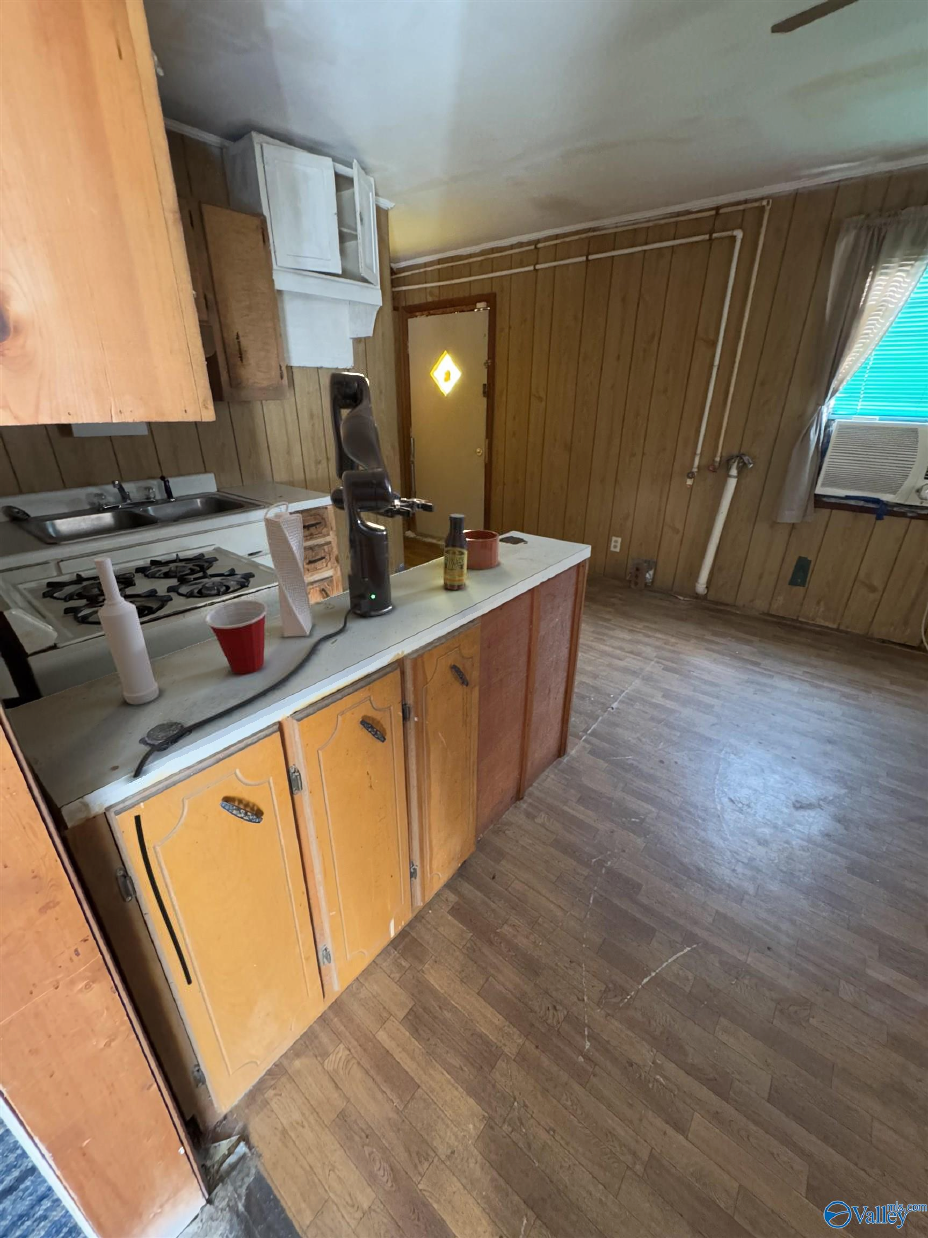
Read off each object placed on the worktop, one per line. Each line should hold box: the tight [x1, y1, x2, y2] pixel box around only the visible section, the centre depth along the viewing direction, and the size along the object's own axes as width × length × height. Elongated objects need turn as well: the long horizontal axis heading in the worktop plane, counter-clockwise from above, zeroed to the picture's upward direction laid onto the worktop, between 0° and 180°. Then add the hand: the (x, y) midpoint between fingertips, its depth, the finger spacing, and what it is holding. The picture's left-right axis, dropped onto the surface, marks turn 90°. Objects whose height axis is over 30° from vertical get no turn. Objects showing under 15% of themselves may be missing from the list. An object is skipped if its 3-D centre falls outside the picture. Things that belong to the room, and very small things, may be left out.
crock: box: [464, 529, 500, 570], centre depth 156 cm, size 13×13×9 cm
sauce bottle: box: [442, 513, 468, 591], centre depth 134 cm, size 6×6×20 cm
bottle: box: [93, 556, 160, 706], centre depth 82 cm, size 5×5×25 cm
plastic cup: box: [203, 599, 268, 675], centre depth 94 cm, size 11×11×12 cm
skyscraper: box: [263, 501, 314, 638], centre depth 106 cm, size 8×8×28 cm
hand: (422, 510), depth 137 cm, fingers open, 8 cm apart
